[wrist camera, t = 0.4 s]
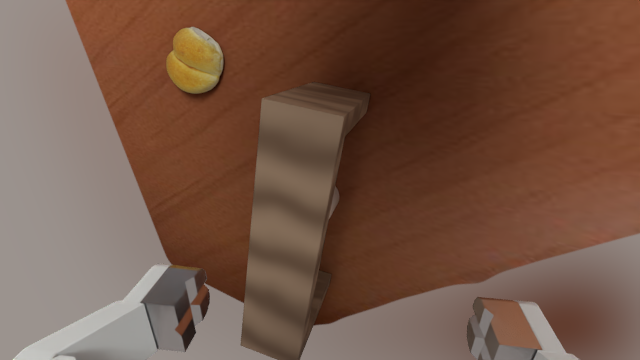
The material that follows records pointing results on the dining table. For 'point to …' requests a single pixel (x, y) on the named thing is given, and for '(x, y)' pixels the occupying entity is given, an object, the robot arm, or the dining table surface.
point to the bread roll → (195, 61)
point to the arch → (293, 213)
